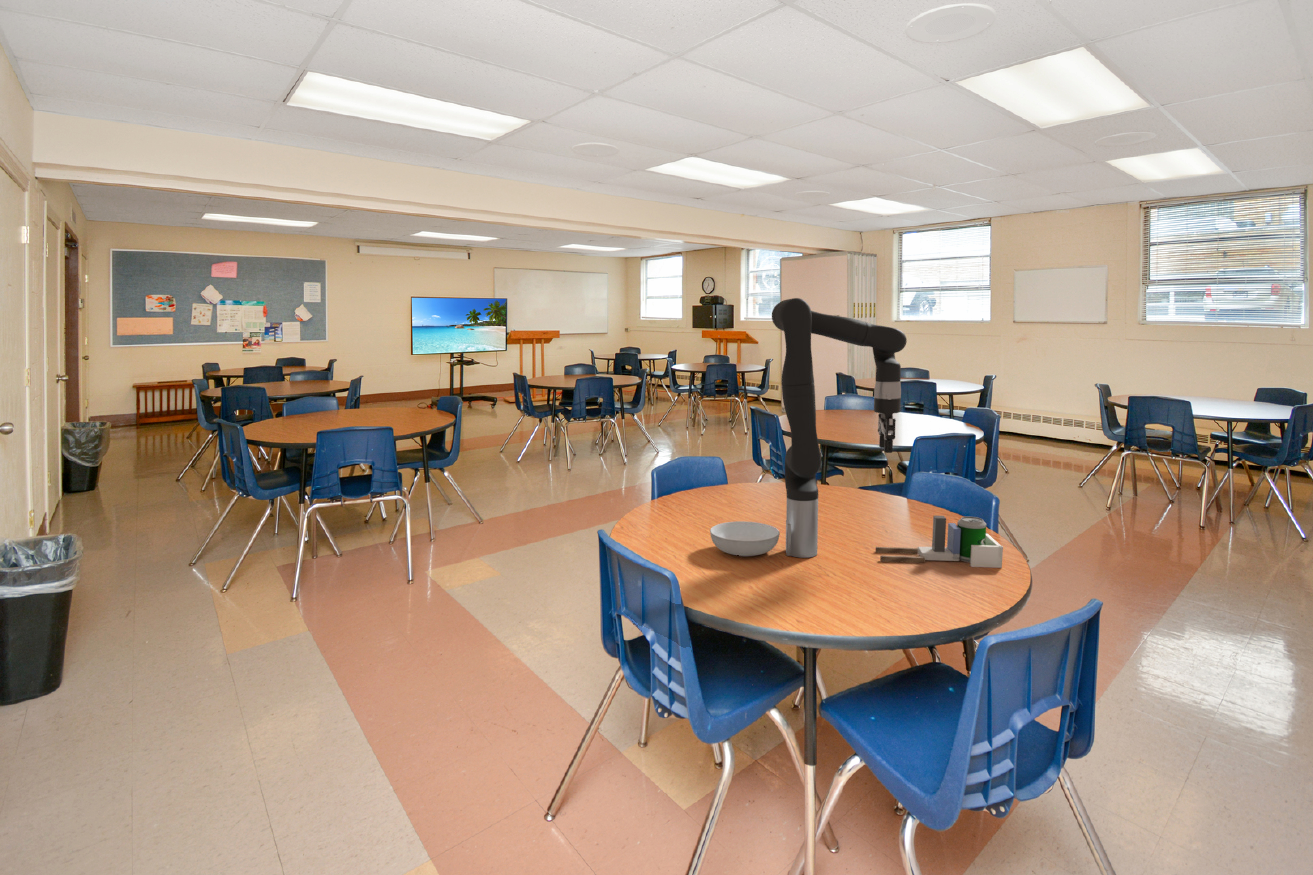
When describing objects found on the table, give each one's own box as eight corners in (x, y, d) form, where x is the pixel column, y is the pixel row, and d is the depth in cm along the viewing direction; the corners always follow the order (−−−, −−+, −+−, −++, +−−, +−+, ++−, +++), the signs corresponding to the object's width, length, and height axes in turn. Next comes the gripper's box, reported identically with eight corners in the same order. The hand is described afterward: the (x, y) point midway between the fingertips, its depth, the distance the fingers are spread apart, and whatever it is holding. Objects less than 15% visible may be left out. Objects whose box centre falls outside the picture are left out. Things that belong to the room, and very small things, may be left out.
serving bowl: (778, 565, 191) (778, 541, 190) (706, 561, 196) (705, 539, 194) (780, 542, 211) (780, 521, 210) (714, 540, 216) (714, 519, 215)
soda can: (975, 565, 187) (978, 524, 185) (950, 558, 193) (952, 518, 191) (989, 560, 192) (991, 519, 190) (964, 553, 198) (966, 514, 196)
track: (880, 561, 192) (880, 556, 192) (875, 551, 201) (875, 546, 201) (924, 562, 190) (924, 557, 190) (917, 552, 199) (917, 547, 199)
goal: (971, 566, 187) (972, 546, 186) (957, 551, 199) (958, 532, 198) (1001, 567, 185) (1003, 546, 184) (986, 552, 198) (987, 533, 197)
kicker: (922, 559, 192) (924, 519, 190) (917, 553, 198) (919, 513, 196) (959, 560, 190) (961, 520, 188) (953, 554, 196) (955, 514, 194)
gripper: (870, 394, 206) (869, 446, 209) (878, 398, 192) (876, 454, 195) (895, 394, 205) (894, 446, 208) (905, 398, 191) (903, 454, 194)
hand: (885, 450), depth 201 cm, fingers open, 8 cm apart
